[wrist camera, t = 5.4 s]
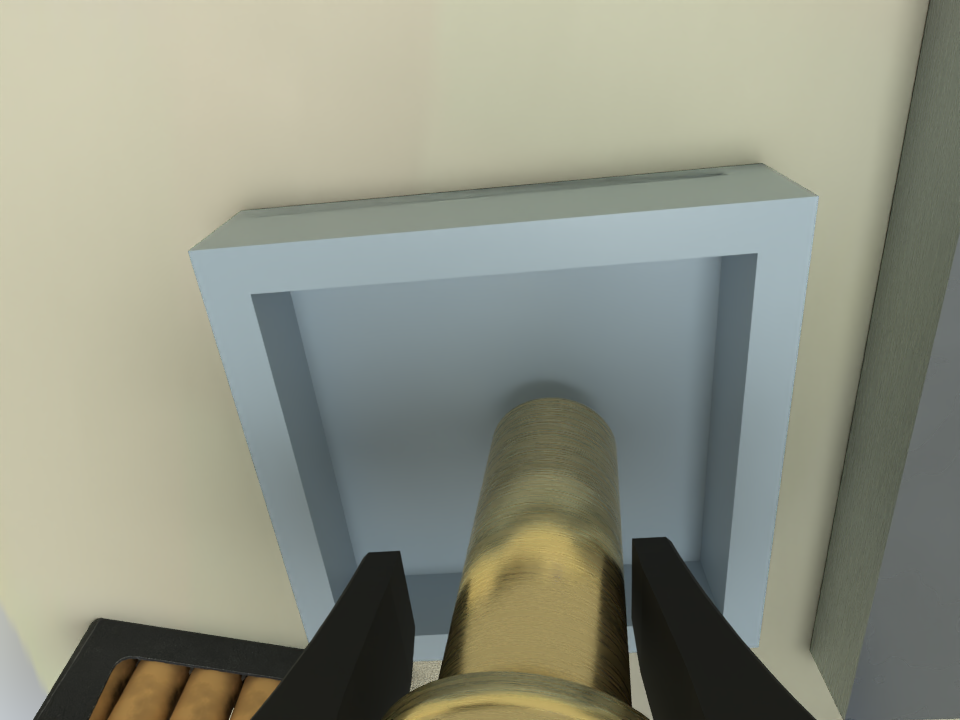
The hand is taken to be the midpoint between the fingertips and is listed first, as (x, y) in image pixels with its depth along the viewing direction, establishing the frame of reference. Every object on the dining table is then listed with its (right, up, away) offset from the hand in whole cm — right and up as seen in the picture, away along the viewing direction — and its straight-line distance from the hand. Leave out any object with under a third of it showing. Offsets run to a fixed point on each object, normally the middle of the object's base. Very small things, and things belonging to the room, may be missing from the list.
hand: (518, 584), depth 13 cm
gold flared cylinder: (+1, +2, +4) cm, 4 cm away
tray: (0, +3, +5) cm, 6 cm away
